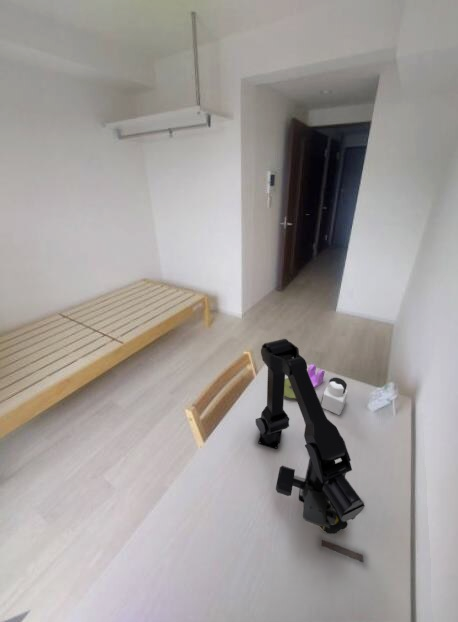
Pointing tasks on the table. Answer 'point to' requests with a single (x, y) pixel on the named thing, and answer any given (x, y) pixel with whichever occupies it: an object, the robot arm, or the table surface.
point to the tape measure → (335, 525)
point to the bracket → (314, 378)
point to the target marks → (342, 550)
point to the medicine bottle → (335, 395)
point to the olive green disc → (288, 389)
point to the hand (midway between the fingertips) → (310, 508)
